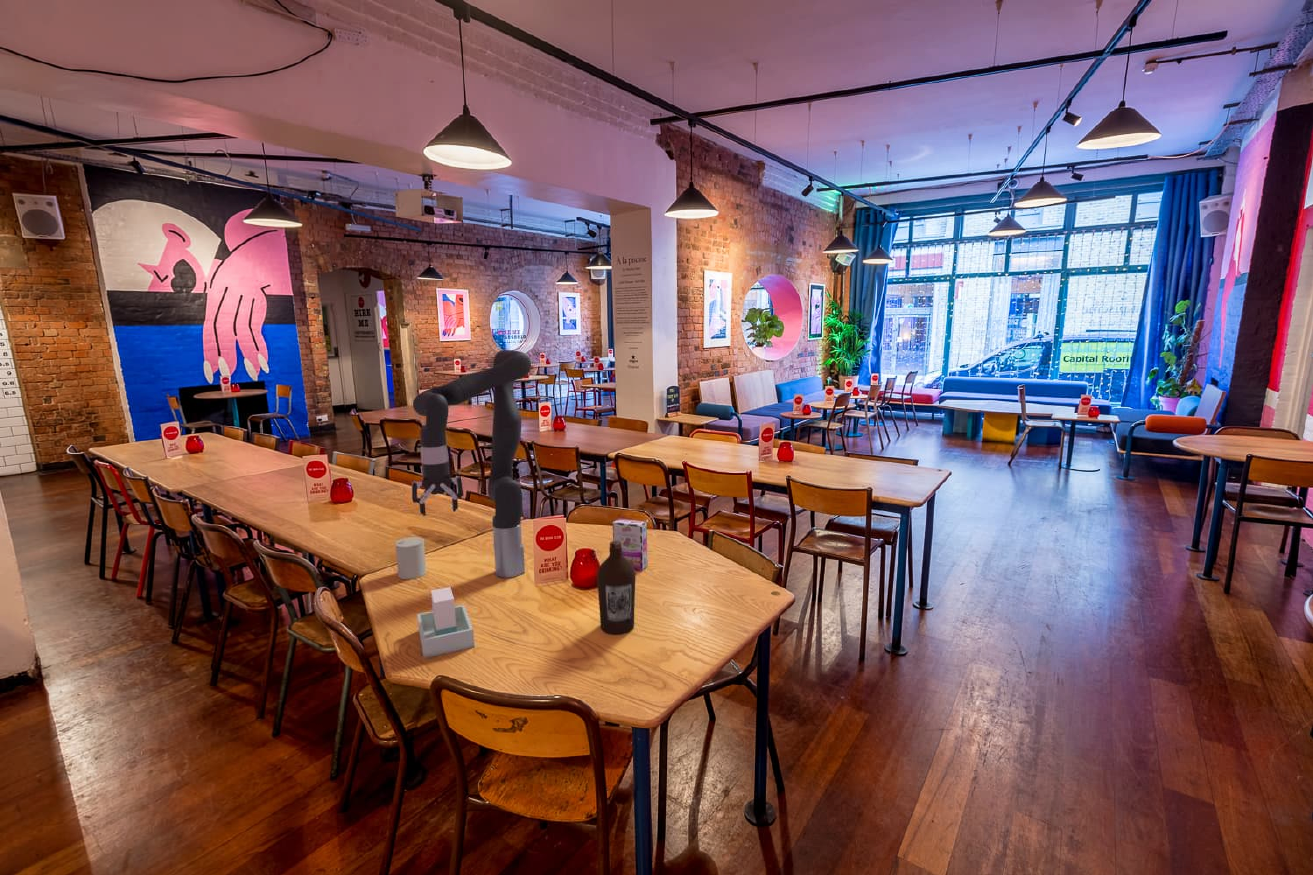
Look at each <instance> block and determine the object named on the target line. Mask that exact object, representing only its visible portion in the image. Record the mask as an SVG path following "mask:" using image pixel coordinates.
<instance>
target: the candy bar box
mask: <svg viewBox="0 0 1313 875" xmlns="http://www.w3.org/2000/svg"><path fill="white" fill-rule="evenodd" d="M647 524H648V523H647V521H643V520H634V519H626V518H617V519H616V520H615V521H612V541H620V542H621V547H622V556H623V557H624V558H626V559H627V560H628V561H629V562H630V563H631V564H632V566H633V568H634V570H635V571H641V572H643V571H644V570H645V569H646V568H647V567H648V565H649V564H648V525H647Z"/></svg>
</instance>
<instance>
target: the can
mask: <svg viewBox="0 0 1313 875" xmlns="http://www.w3.org/2000/svg"><path fill="white" fill-rule="evenodd" d="M394 543H395V544H394V545H395V554H396V565H397V577H398V578H399V579H401V580H414V579H418V578H421V577H423V576H425V575H426V574H427V572H428V570H427V564H426V553H425V552H426V551H425V550H426V549H425V539H424V538H423V537H420V536H412V537H411V536H409V537H405V538H401V539H399V540H397V541H396V542H394Z"/></svg>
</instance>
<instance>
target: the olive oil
mask: <svg viewBox="0 0 1313 875" xmlns="http://www.w3.org/2000/svg"><path fill="white" fill-rule="evenodd" d="M608 550H609V555H608V557H606V558H605V560H604V561H603V562H602V563H601V564H600V566H599V567H598V569H597V573H596V583H597V591H598V592H597V593H598V607H599V619H600V620H599V621H600V622H599V623H600V624H599V625H600V630H601V631H602V632H603V633H605V634H607V635H611V636H622V635H626V634H629V633H630V632H632V631H633V630H634V628H635V600H636V597H635V596H636V578H637V577H636V570H634V568H633V566H632V564H631V563H630V562H629V561H628V560H627V559H626V558H624V557H623V556H622V547H621V542H620V541H613V540H612V541H610V542H609V549H608Z"/></svg>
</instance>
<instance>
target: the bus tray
mask: <svg viewBox="0 0 1313 875" xmlns="http://www.w3.org/2000/svg"><path fill="white" fill-rule="evenodd" d="M416 617H417V628H418V634H419V641H420V646H421V651H422V657H423V660H424V659H429V658H432V657H436V656H441V655H445V654H450V653H454V652H458V651H463V650H467V649H473V648H475V638H474V637H475V636H474V635H475V634H474V628H473V625H472V622H471V620H470V616H469V613H468V610H467V608H466V606H465V604H461V605H457V606H456V605H455V617H456V627H457V632H453V633H448V634H444V635H439V636H435V631H434V623H433V610H431V611H427V612H426V611H425V612H420V613H417V614H416Z"/></svg>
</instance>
